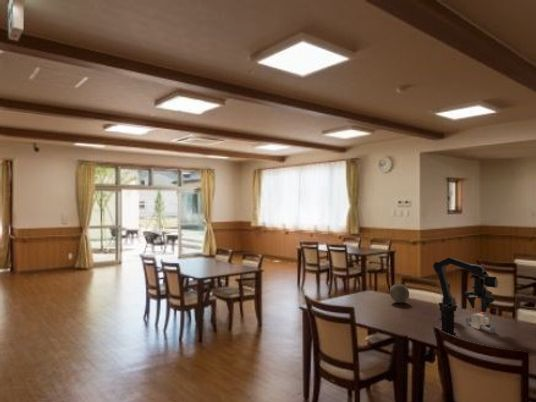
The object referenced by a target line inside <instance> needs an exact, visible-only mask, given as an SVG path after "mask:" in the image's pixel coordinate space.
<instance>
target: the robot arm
mask: <svg viewBox="0 0 536 402" xmlns="http://www.w3.org/2000/svg"><path fill="white" fill-rule="evenodd" d="M449 265H453V266H454V267H455V266H456V267H458V268H461V269H465V270H467V271H468V272H470V273H472V274H471V275H470V277H469V278H471V279H473V286H472V289H473V291H472V290H471V291H470V290H468V291H467V290H466V291H465V292H464V297H465V298H466V299H467V301H468V302H469V305H470V307H471V308H472V309H475V303H476V302H475V301H476V298H478V299H480V300H481V304H482V305H481V306H482V312H484V313H486V312H487V309H488V307H489V305H490V304H492V303H494V302H495V298H494V296H492V293H493V292H492V291H490V290H488V289H487V288H486V287H488V288H494V289H497V288H498V285H499V281H498V277H497V276H496V275H495V276H491V275H489V274H488V273H487V270H486V268H485V267H484V266H483V265H481V264H476V263H469V262H467V261H463V260H460V259H458V258H454V257H451V256H449V257H447V258H445V259H443V260H439V261H435V262H434V263H433V265H432V267H433V270H434V272H435V274H436V275H437V277H438V280H439V284H440V288H441V291H442V295H443V297H442V303H443V305H448V303H452V305H451V306H453V305H457V301H456V297H453V296H452V295H451V291H450V288H449V287H450V286H449V283H448V280H447V273H446V271H447V267H448V266H449ZM439 312H440V318H439V320H440V321H442V314H441V313H442V309H440V308H439Z"/></svg>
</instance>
